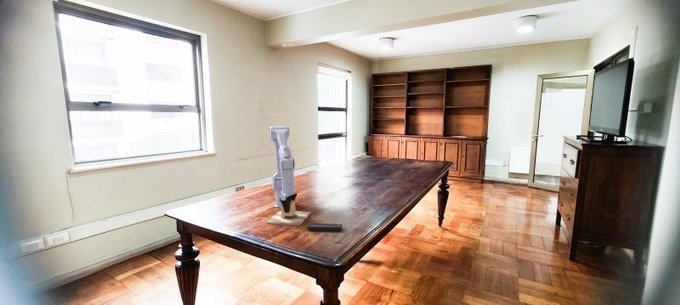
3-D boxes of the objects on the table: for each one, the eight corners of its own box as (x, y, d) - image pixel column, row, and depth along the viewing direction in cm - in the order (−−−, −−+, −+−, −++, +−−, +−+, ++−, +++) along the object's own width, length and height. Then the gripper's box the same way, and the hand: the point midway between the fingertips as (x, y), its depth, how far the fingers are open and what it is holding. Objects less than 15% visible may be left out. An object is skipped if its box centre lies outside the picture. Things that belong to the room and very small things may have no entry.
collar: (285, 212, 141) (284, 200, 140) (295, 212, 140) (294, 200, 139) (281, 215, 136) (280, 203, 135) (291, 216, 135) (291, 203, 134)
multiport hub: (309, 228, 127) (309, 223, 127) (342, 228, 126) (341, 223, 125) (307, 232, 123) (307, 226, 123) (341, 232, 121) (340, 227, 121)
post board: (281, 212, 148) (280, 200, 147) (310, 214, 144) (310, 202, 143) (266, 223, 132) (265, 210, 132) (298, 226, 129) (298, 213, 128)
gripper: (285, 179, 144) (286, 205, 146) (273, 186, 130) (275, 215, 131) (298, 179, 143) (299, 206, 144) (288, 186, 128) (289, 216, 130)
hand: (289, 210), depth 138 cm, fingers closed on collar, 5 cm apart
